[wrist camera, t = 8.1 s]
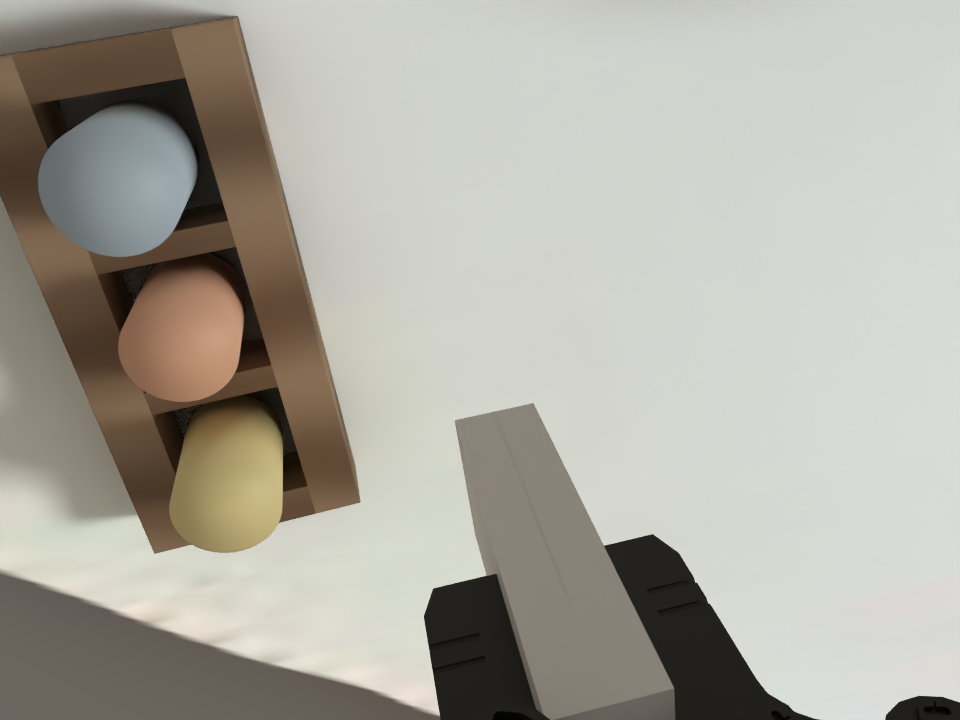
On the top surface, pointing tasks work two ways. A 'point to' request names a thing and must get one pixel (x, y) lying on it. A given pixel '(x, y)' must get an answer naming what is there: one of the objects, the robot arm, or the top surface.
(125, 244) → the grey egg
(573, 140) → the top surface
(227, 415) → the button ochre
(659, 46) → the top surface
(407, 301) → the top surface
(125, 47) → the button board
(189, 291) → the button terracotta
